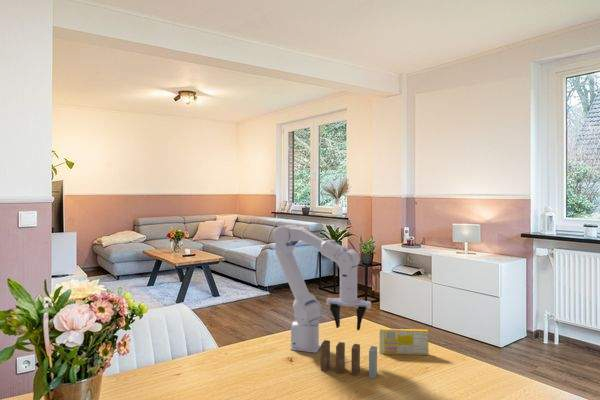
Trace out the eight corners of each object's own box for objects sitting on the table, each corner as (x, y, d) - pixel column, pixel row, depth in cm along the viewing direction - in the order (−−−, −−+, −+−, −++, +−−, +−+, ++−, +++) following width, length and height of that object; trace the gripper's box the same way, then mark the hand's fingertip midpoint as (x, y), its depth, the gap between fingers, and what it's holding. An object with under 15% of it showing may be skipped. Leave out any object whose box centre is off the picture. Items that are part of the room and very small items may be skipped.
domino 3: (351, 374, 124) (351, 348, 124) (354, 369, 128) (354, 343, 127) (357, 375, 123) (357, 349, 123) (359, 370, 127) (359, 344, 127)
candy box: (427, 353, 141) (427, 329, 140) (428, 355, 138) (428, 331, 138) (379, 351, 142) (379, 327, 142) (379, 353, 140) (379, 329, 140)
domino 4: (368, 377, 122) (369, 350, 122) (371, 371, 126) (371, 345, 126) (375, 378, 121) (375, 351, 121) (376, 372, 125) (377, 346, 125)
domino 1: (320, 370, 127) (321, 344, 127) (324, 365, 131) (324, 340, 130) (326, 371, 126) (326, 345, 126) (329, 365, 130) (329, 340, 130)
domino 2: (335, 372, 125) (336, 346, 125) (339, 367, 129) (339, 341, 129) (341, 373, 125) (341, 347, 125) (344, 368, 128) (344, 342, 128)
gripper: (323, 288, 134) (323, 329, 135) (368, 291, 130) (368, 334, 130) (329, 283, 141) (329, 322, 141) (372, 286, 136) (371, 327, 137)
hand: (348, 328), depth 136 cm, fingers open, 6 cm apart
